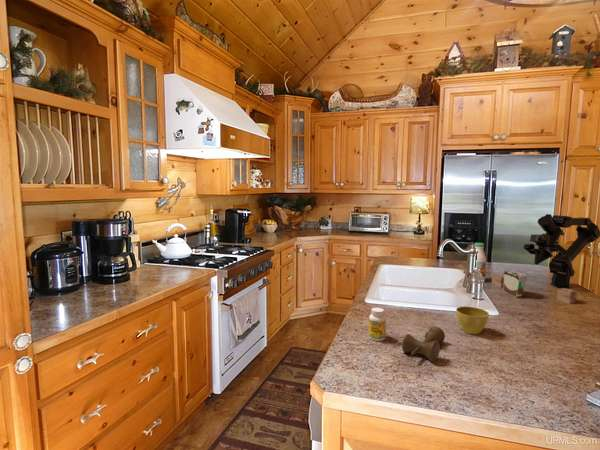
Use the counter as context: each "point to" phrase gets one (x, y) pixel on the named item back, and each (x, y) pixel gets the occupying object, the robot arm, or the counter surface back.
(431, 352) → the kendama
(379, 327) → the supplement bottle
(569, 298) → the walnut cube seven
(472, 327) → the olive yellow bowl
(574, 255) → the robot arm
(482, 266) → the milk bottle
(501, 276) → the walnut cube one
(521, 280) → the food container
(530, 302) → the counter surface
